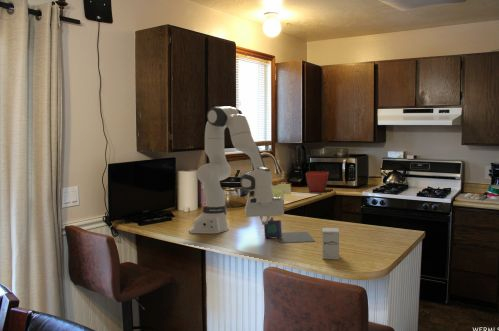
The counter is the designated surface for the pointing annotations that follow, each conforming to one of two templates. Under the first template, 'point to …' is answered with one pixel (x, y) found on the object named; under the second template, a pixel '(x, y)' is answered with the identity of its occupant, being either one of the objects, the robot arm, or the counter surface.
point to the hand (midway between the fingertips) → (264, 224)
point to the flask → (273, 229)
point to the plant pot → (317, 181)
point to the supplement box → (330, 243)
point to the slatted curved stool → (281, 190)
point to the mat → (295, 237)
